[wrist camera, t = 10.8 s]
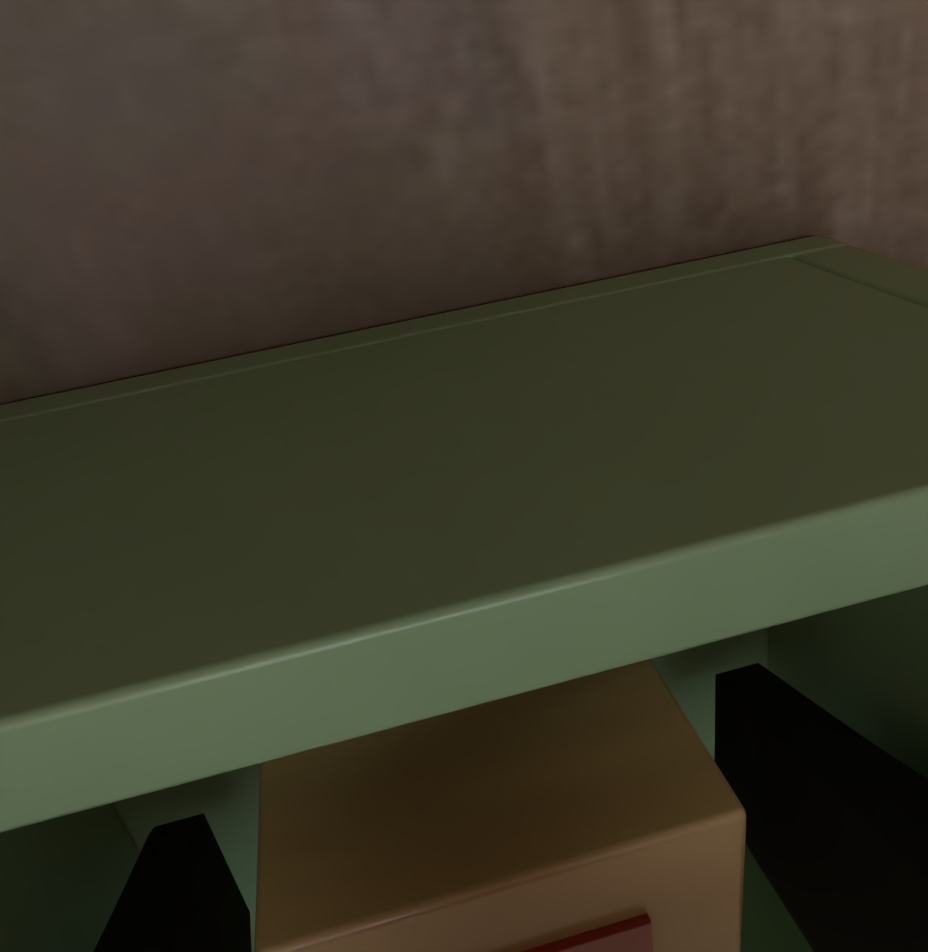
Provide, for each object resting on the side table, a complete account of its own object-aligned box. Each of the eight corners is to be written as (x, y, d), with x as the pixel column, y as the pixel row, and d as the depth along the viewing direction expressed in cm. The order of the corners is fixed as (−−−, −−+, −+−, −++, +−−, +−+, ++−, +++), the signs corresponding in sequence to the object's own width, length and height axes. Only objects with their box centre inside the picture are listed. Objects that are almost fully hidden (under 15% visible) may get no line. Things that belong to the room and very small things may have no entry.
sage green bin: (819, 233, 10) (1335, 386, 5) (776, 823, 16) (1002, 1166, 11) (-139, 432, 9) (-682, 897, 4) (189, 998, 14) (143, 1479, 9)
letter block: (582, 546, 11) (756, 821, 7) (601, 767, 13) (744, 1073, 9) (261, 626, 10) (249, 972, 6) (337, 841, 12) (364, 1200, 8)
